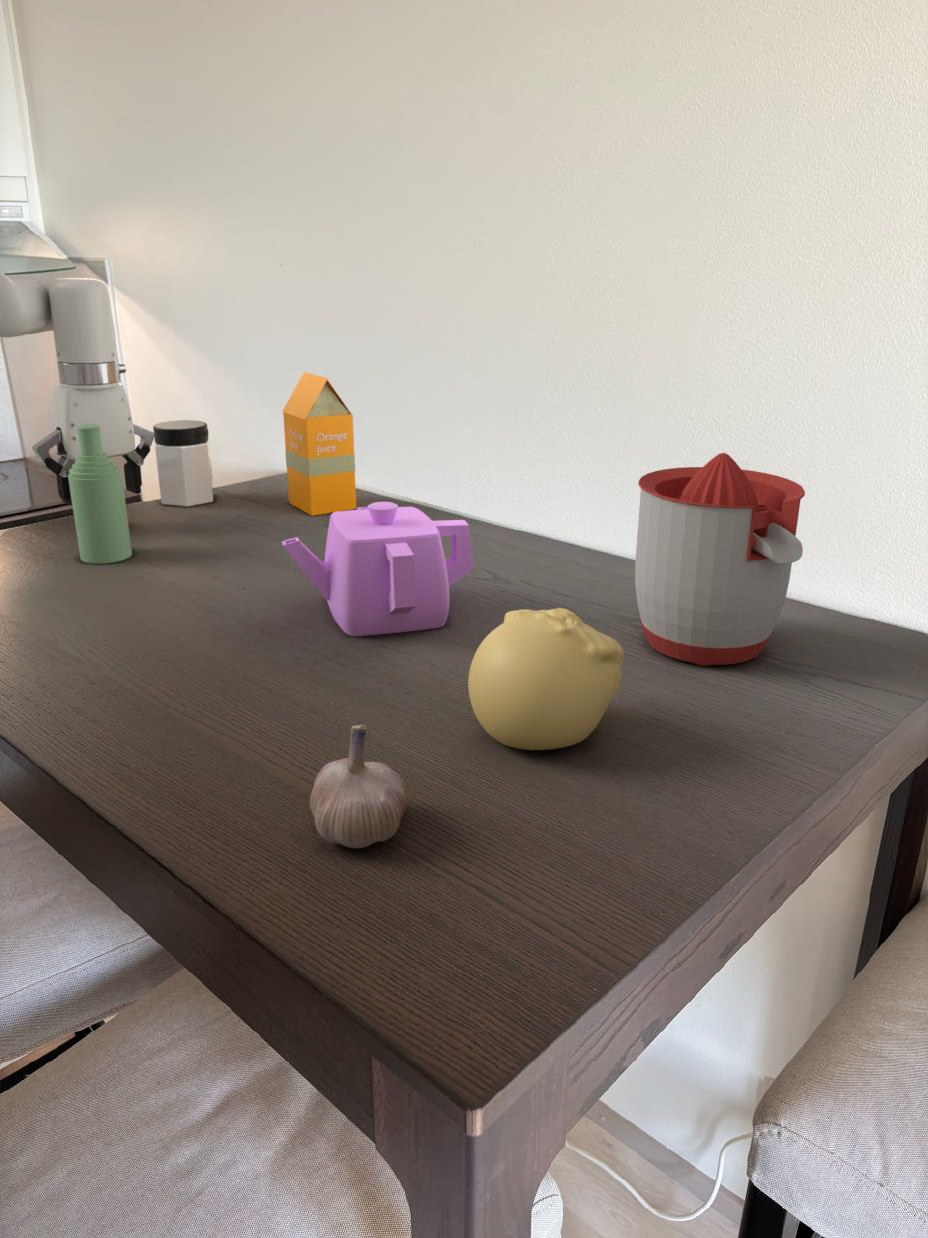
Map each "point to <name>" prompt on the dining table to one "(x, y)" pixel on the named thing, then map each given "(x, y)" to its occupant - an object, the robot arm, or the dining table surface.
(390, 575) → the teakettle
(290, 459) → the orange juice
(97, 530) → the bottle
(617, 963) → the dining table surface
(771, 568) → the citrus juicer
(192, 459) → the jar
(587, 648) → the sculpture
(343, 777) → the garlic bulb
